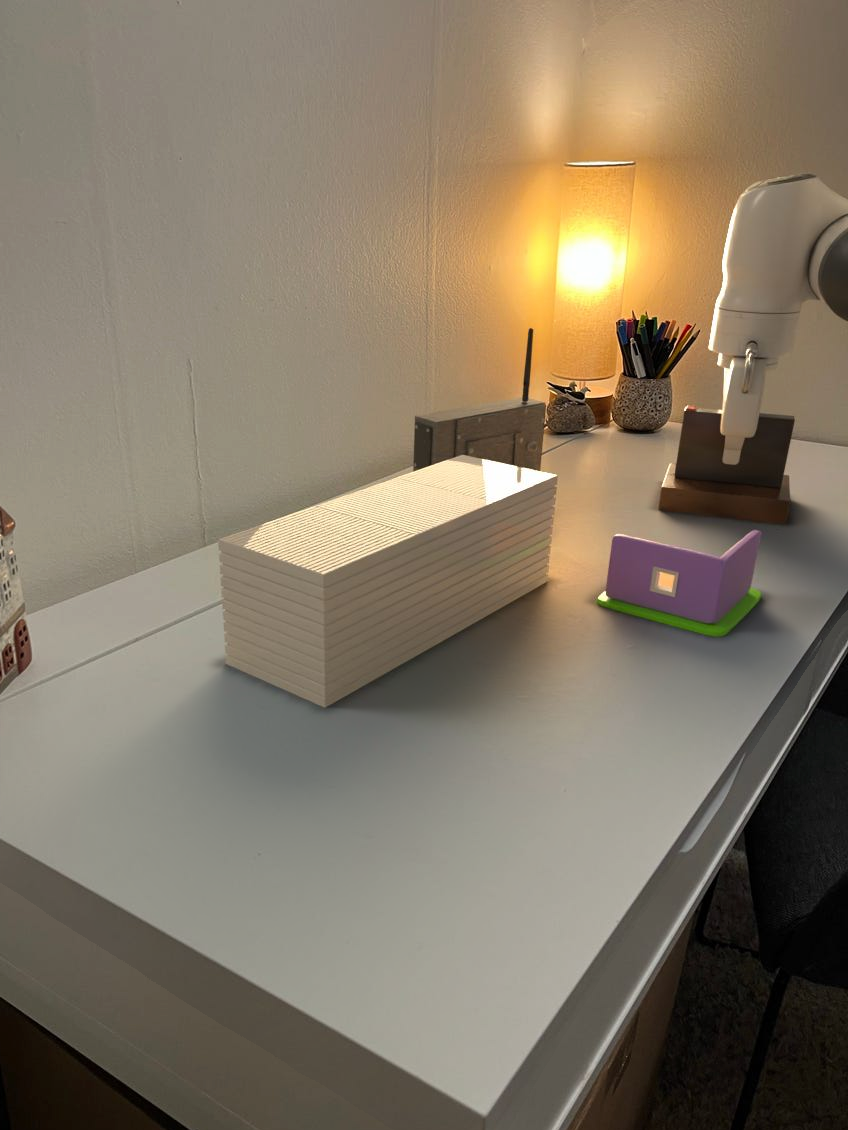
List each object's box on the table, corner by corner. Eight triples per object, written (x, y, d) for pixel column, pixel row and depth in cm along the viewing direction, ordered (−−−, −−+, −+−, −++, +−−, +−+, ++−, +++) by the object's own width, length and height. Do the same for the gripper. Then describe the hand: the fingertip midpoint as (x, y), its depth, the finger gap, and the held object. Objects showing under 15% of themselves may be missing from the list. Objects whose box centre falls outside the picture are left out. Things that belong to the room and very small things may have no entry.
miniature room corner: (721, 641, 81) (736, 566, 78) (591, 605, 88) (600, 535, 85) (764, 597, 90) (779, 528, 87) (643, 567, 96) (652, 502, 93)
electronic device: (514, 488, 120) (527, 323, 112) (554, 502, 116) (571, 330, 107) (408, 514, 111) (413, 336, 102) (447, 530, 106) (456, 344, 97)
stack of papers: (324, 710, 70) (323, 574, 66) (226, 666, 77) (218, 539, 72) (547, 583, 93) (557, 475, 88) (456, 556, 99) (462, 454, 94)
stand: (784, 498, 118) (789, 475, 116) (785, 526, 108) (790, 500, 107) (666, 485, 122) (670, 462, 121) (657, 511, 113) (661, 486, 111)
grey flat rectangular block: (780, 483, 113) (794, 413, 109) (780, 488, 111) (795, 417, 108) (675, 472, 116) (685, 404, 113) (674, 477, 115) (684, 408, 111)
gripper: (785, 352, 97) (759, 484, 103) (780, 325, 114) (758, 440, 120) (720, 348, 99) (698, 478, 105) (724, 322, 116) (705, 435, 122)
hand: (730, 457), depth 113 cm, fingers open, 3 cm apart
